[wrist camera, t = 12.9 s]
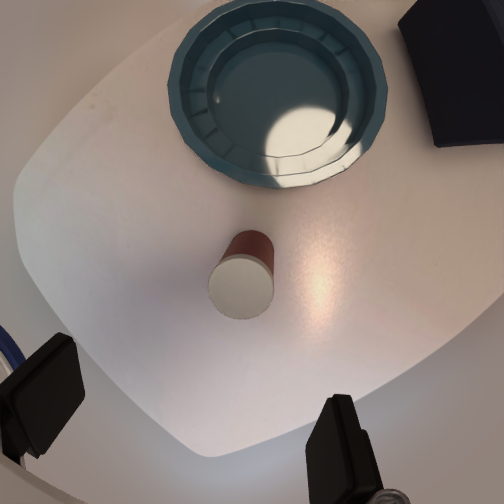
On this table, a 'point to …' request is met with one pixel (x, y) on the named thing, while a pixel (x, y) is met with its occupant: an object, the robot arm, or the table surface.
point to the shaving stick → (244, 277)
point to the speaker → (459, 67)
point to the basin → (277, 91)
